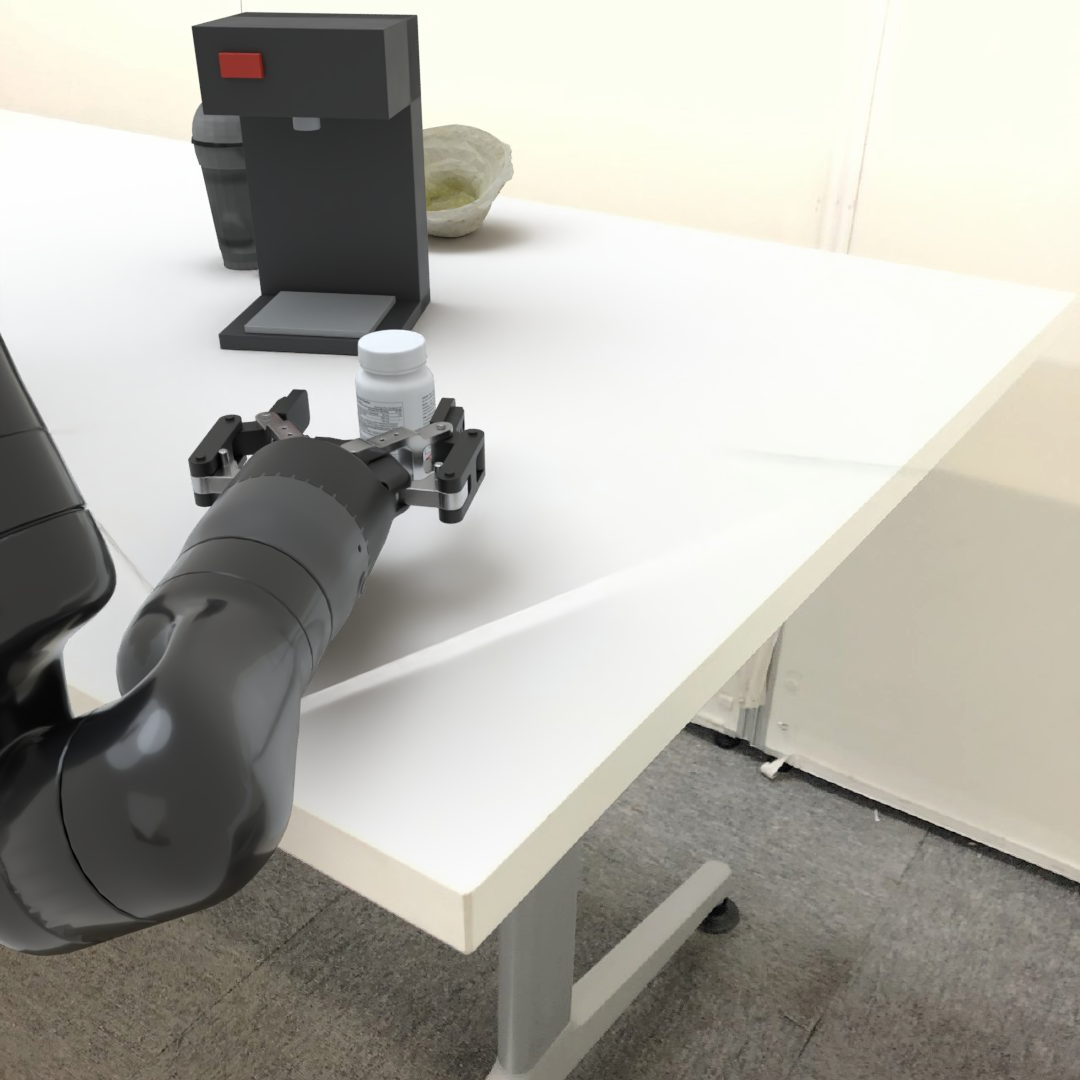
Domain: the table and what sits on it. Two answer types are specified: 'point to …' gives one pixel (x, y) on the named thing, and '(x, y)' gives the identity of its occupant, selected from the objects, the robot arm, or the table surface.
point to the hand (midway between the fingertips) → (375, 408)
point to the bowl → (462, 177)
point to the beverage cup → (226, 186)
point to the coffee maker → (325, 172)
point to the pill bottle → (394, 384)
